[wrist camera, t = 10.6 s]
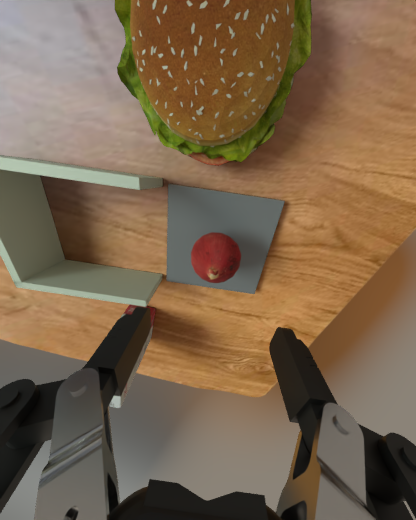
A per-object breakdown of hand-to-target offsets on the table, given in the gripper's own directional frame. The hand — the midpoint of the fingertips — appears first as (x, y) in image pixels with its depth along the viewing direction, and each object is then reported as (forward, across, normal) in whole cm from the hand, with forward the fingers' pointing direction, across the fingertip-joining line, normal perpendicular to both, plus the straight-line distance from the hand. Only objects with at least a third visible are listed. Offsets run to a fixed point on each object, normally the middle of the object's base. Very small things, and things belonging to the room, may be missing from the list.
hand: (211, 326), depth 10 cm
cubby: (+15, +16, 0) cm, 22 cm away
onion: (+14, 0, 0) cm, 14 cm away
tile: (+15, 0, 0) cm, 15 cm away
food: (+15, +3, -17) cm, 23 cm away
